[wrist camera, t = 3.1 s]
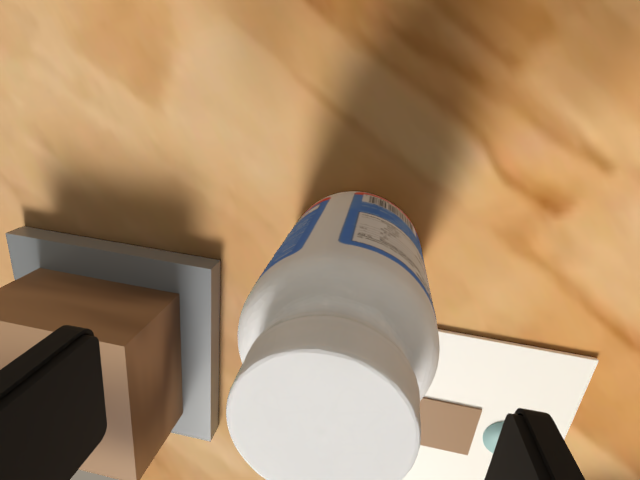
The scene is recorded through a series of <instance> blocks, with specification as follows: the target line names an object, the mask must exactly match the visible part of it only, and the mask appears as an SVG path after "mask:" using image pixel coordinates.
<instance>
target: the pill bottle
mask: <svg viewBox="0 0 640 480" xmlns="http://www.w3.org/2000/svg"><path fill="white" fill-rule="evenodd" d="M238 348H239V354H240V357H241V361H242V366H241V368H240V370H239V372H238V374H237V376H236V378H235V380H234V382H233V385H232V387H231V389H230V392H229V396H228V400H227V407H226V417H227V425H228V429H229V432H230V436H231V438H232V440H233V442H234V445H235V447H236V448H237V450H238V451H239V453H240V454H241V456H242V457H243V458H244V460H245V461H246V462H247V463H248V464H249V465H250V466H251V467H252V468H253V469H254V470H255V471H256V472H257V473H258V474H259V475H260V476H262V477H263V478H265V479H266V480H402V479H403V478H404V477H405V476H406V475H407V473H408V472H409V471H410V470H411V468H412V466H413V464H414V463H415V460H416V458H417V455H418V452H419V448H420V442H421V420H420V401H421V399H422V398H423V397H424V396H425V394H426V393H427V391H428V389H429V387H430V386H431V384H432V381H433V379H434V377H435V374H436V370H437V366H438V361H439V351H440V345H439V334H438V328H437V321H436V315H435V311H434V307H433V302H432V298H431V293H430V288H429V283H428V278H427V274H426V269H425V265H424V260H423V255H422V249H421V245H420V241H419V237H418V234H417V232H416V230H415V228H414V226H413V224H412V223H411V221H410V219H409V218H408V217H407V216H406V215H405V214H404V212H403V211H401V210H400V209H399V208H398V207H397V206H396V205H394V204H393V203H391V202H390V201H388V200H386V199H384V198H382V197H380V196H377V195H374V194H371V193H366V192H358V191H348V192H340V193H336V194H333V195H330V196H327V197H325V198H323V199H321V200H319V201H318V202H316V203H315V204H314V205H312V206H311V207H310V208H309V209H308V210H307V211H306V212H305V213H304V214H303V215H302V216H301V217H300V219H299V220H298V222H297V223H296V225H295V226H294V227H293V229H292V231H291V232H290V233H289V234H288V236H287V237H286V239H285V241H284V242H283V244H282V245H281V247H280V248H279V249H278V251H277V252H276V253H275V255H274V257H273V258H272V260H271V261H270V263H269V264H268V265H267V267H266V269H265V270H264V272H263V273H262V275H261V276H260V278H259V279H258V281H257V282H256V284H255V285H254V287H253V289H252V291H251V292H250V294H249V296H248V298H247V299H246V301H245V304H244V306H243V309H242V312H241V315H240V319H239V326H238Z"/></svg>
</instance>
